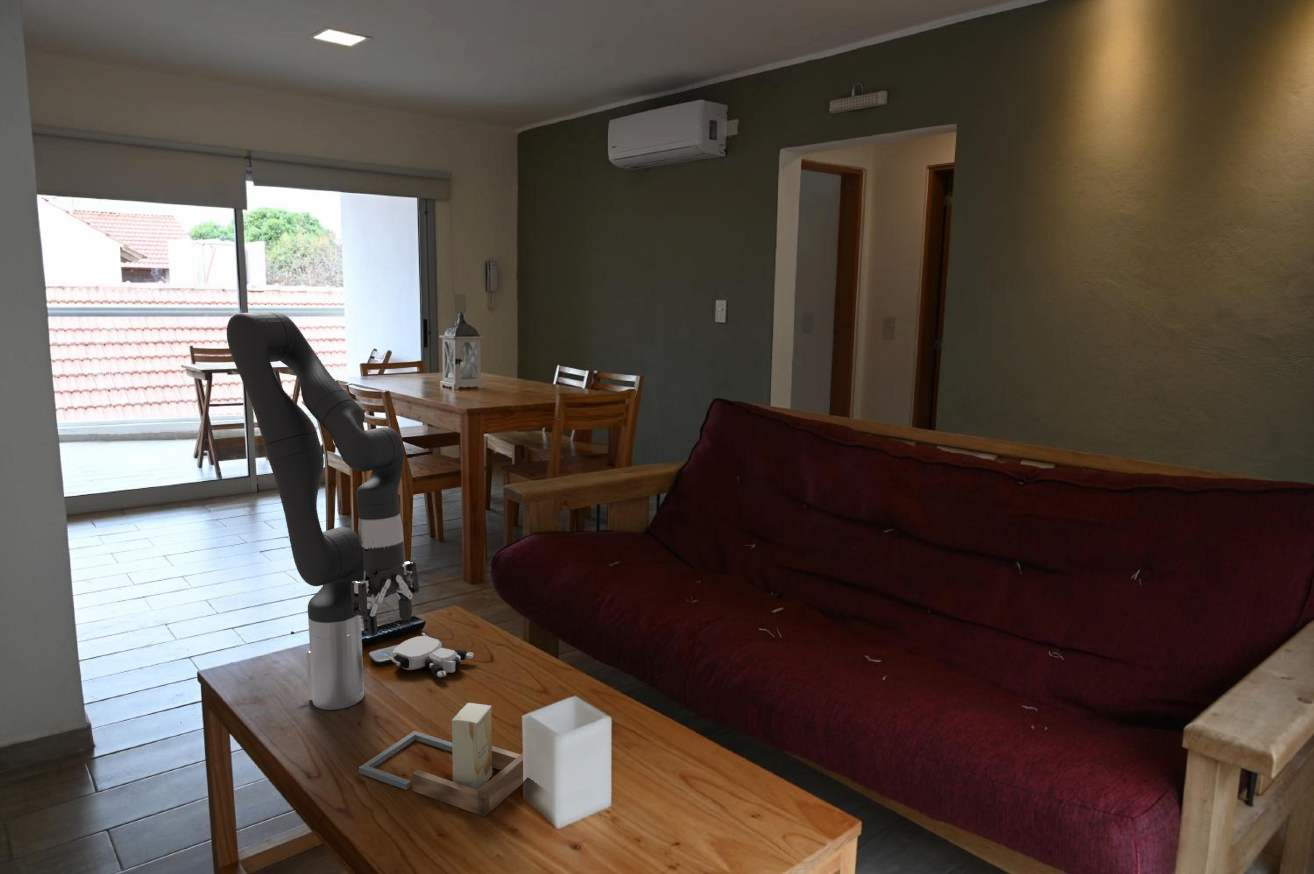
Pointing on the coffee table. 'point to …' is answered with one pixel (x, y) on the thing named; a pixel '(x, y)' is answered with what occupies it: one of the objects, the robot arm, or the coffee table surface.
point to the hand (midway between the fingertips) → (389, 626)
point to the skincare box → (472, 745)
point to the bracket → (384, 776)
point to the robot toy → (428, 656)
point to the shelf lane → (472, 798)
